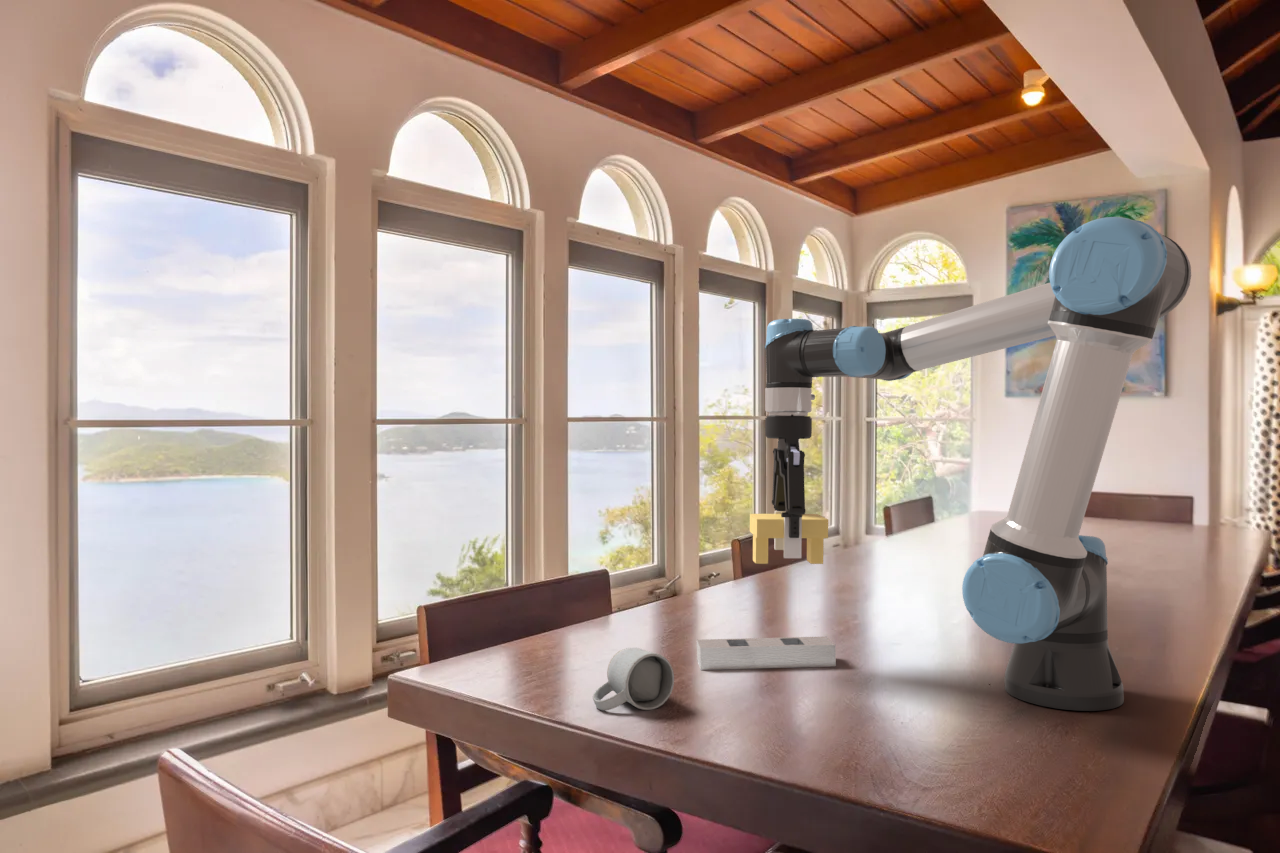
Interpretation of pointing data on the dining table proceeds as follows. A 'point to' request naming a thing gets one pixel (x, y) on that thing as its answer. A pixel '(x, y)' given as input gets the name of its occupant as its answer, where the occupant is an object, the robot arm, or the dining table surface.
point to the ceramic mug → (636, 680)
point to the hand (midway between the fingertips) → (787, 553)
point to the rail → (765, 653)
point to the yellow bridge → (774, 528)
